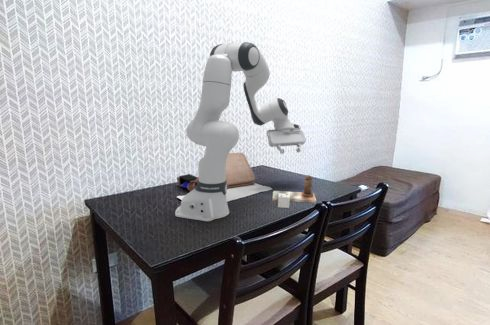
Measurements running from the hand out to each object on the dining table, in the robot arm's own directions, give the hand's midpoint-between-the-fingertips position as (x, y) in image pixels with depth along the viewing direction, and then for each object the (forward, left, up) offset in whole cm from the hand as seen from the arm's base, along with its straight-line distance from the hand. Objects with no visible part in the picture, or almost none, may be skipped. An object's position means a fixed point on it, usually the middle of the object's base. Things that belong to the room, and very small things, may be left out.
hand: (290, 152), depth 150 cm
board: (+2, -10, -21) cm, 23 cm away
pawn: (+9, -10, -19) cm, 23 cm away
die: (-3, -21, -21) cm, 30 cm away
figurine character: (-53, -4, -21) cm, 57 cm away
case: (-32, +12, -21) cm, 40 cm away
